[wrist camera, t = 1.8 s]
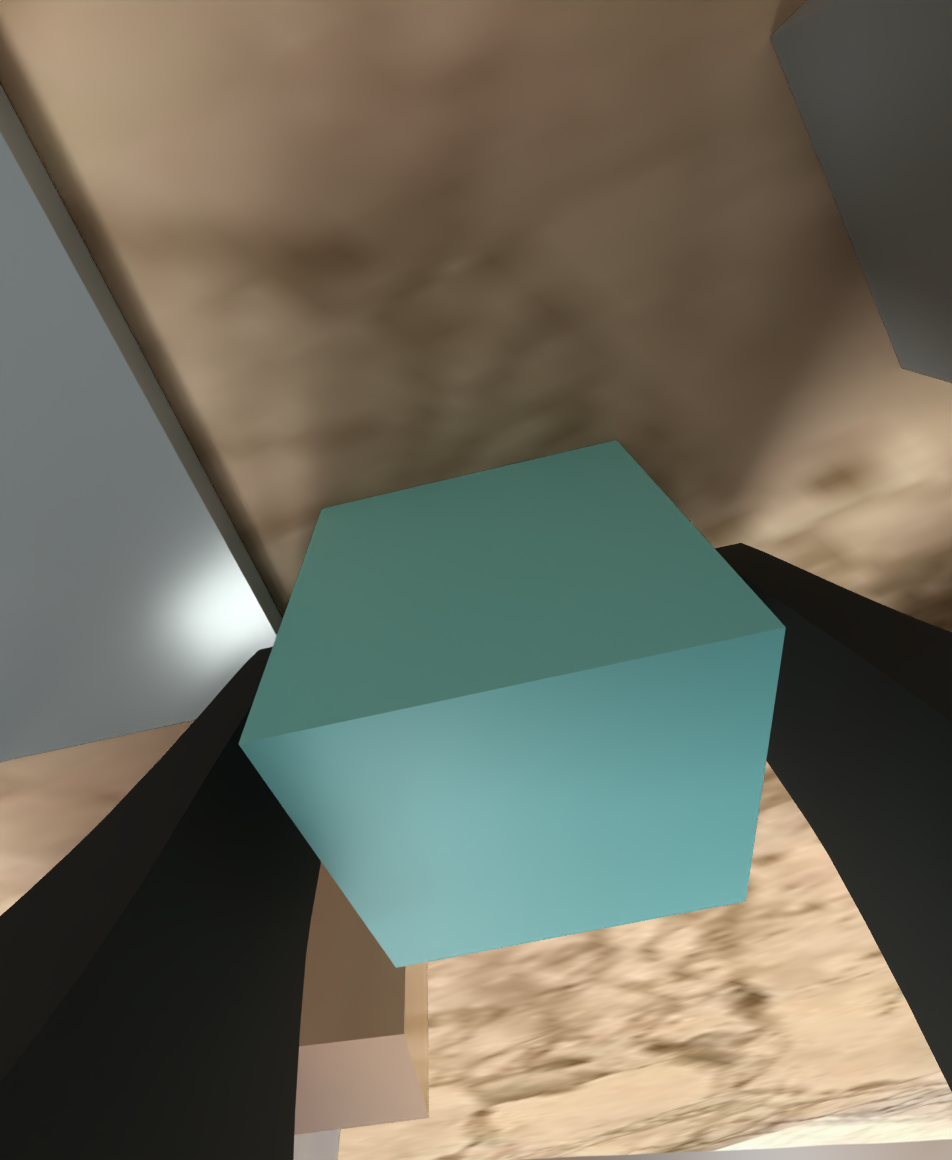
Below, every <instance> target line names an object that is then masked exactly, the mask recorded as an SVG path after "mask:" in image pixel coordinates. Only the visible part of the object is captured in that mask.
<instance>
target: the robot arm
mask: <svg viewBox="0 0 952 1160" xmlns="http://www.w3.org/2000/svg"><path fill="white" fill-rule="evenodd" d="M715 550H716V551H717V552H718V553H719V554H720V555H721V556H722V557H723V558H724V560H725V561H726V562H727V563H728V564H729V565H730V566H731V567H732V568H733V569H734V571H735V572H736V573H737V574H738V575H739V576H740V577H741V578H742V579H743V581H744V582H745V583H746V584H747V585H748V586H749V587H750V588H751V589H752V591H753V592H754V593H755V594H756V595H757V596H758V597H759V598H760V599H761V600H762V602H763V603H764V604H765V605H766V606H767V607H768V608H769V609H770V610H771V612H772V613H773V614H774V615H775V616H776V617H777V618H778V619H779V620H780V621H781V623H782V624H783V625H784V626H785V627H786V629H785V636H784V643H783V650H782V657H781V663H780V670H779V677H778V684H777V691H776V697H775V704H774V711H773V718H772V725H771V731H770V738H769V745H768V752H767V759H766V760H767V762H768V763H769V765H770V766H771V768H772V769H773V771H774V772H775V774H776V775H777V777H778V778H779V780H780V781H781V783H782V784H783V786H784V787H785V789H786V790H787V792H788V793H789V794H790V796H791V797H792V799H793V800H794V802H795V803H796V805H797V806H798V808H799V809H800V811H801V812H802V814H803V815H804V817H805V818H806V820H807V821H808V823H809V824H810V826H811V827H812V829H813V831H814V832H815V834H816V835H817V837H818V839H819V840H820V842H821V843H822V845H823V847H824V848H825V850H826V851H827V853H828V855H829V857H830V858H831V860H832V862H833V864H834V866H835V868H836V869H837V871H838V873H839V875H840V877H841V878H842V880H843V882H844V884H845V886H846V888H847V889H848V891H849V893H850V895H851V897H852V898H853V900H854V902H855V904H856V906H857V908H858V909H859V911H860V913H861V915H862V917H863V919H864V920H865V922H866V924H867V926H868V928H869V930H870V932H871V934H872V935H873V937H874V939H875V941H876V943H877V945H878V947H879V949H880V951H881V953H882V955H883V957H884V958H885V960H886V962H887V964H888V966H889V968H890V970H891V972H892V974H893V976H894V978H895V979H896V981H897V983H898V985H899V987H900V989H901V991H902V993H903V995H904V997H905V999H906V1000H907V1002H908V1004H909V1006H910V1008H911V1010H912V1012H913V1015H914V1017H915V1019H916V1021H917V1023H918V1025H919V1027H920V1029H921V1031H922V1033H923V1035H924V1037H925V1039H926V1041H927V1043H928V1045H929V1047H930V1049H931V1051H932V1053H933V1055H934V1057H935V1059H936V1061H937V1063H938V1065H939V1067H940V1069H941V1071H942V1073H943V1075H944V1077H945V1079H946V1081H947V1083H948V1085H949V1087H950V1089H951V1091H952V633H951V632H949V631H946V630H944V629H941V628H938V627H936V626H933V625H931V624H928V623H925V622H923V621H920V620H918V619H915V618H913V617H911V616H908V615H906V614H903V613H901V612H898V611H896V610H894V609H891V608H889V607H886V606H884V605H882V604H879V603H877V602H875V601H872V600H870V599H868V598H865V597H863V596H861V595H859V594H856V593H854V592H852V591H849V590H847V589H845V588H843V587H840V586H838V585H836V584H834V583H831V582H829V581H827V580H825V579H823V578H820V577H818V576H816V575H814V574H812V573H809V572H807V571H805V570H803V569H800V568H798V567H796V566H794V565H792V564H789V563H787V562H785V561H783V560H781V559H778V558H776V557H774V556H772V555H769V554H767V553H765V552H762V551H760V550H758V549H755V548H753V547H750V546H748V545H745V544H742V543H738V544H734V545H729V546H725V547H720V548H716V549H715ZM272 648H273V647H269V648H265V649H260V650H258V651H257V652H256V653H255V654H254V655H253V656H252V657H251V658H250V659H249V660H248V661H247V662H246V663H245V664H244V665H243V666H242V668H241V669H240V670H239V671H238V672H237V673H236V674H235V675H234V676H233V678H232V679H231V680H230V681H229V682H228V683H227V684H226V685H225V687H224V688H223V689H222V690H221V691H220V692H219V693H218V695H217V696H216V697H215V698H214V699H213V700H212V702H211V703H210V704H209V705H208V706H207V707H206V708H205V710H204V711H203V712H202V713H201V714H200V715H199V716H198V717H197V719H196V720H195V721H194V722H193V723H192V724H191V725H190V727H189V728H188V729H187V730H186V731H185V732H184V733H183V734H182V736H181V737H180V738H179V739H178V740H177V741H176V742H175V744H174V745H173V746H172V747H171V748H170V749H169V750H168V751H167V753H166V754H165V755H164V756H163V757H162V758H161V759H160V760H159V761H158V762H157V763H156V764H155V765H154V766H153V768H152V769H151V770H150V771H149V772H148V773H147V774H146V775H145V776H144V777H143V778H142V779H141V780H140V781H139V782H138V783H137V784H136V786H135V787H134V788H133V789H132V790H131V791H130V792H129V793H128V794H127V795H126V796H125V797H124V798H123V799H122V800H121V801H120V802H119V804H118V805H117V806H116V807H115V808H114V809H113V810H112V811H111V812H110V813H109V814H108V815H107V816H106V817H105V818H104V819H103V820H102V821H101V822H100V823H99V824H98V825H97V826H96V827H95V828H94V829H93V830H92V831H91V832H90V833H89V834H88V835H87V836H86V837H85V838H84V839H83V840H82V841H81V842H80V843H79V844H78V845H77V846H76V847H75V848H74V849H73V850H72V851H71V852H70V853H69V854H68V855H67V856H66V857H64V858H63V859H62V860H61V861H60V862H59V863H58V864H57V865H56V866H55V867H54V868H53V869H52V870H50V871H49V872H48V873H47V874H46V875H45V876H44V877H43V878H42V879H41V880H40V881H39V882H38V883H37V884H35V885H34V886H33V887H32V888H31V889H30V890H29V891H28V892H27V893H26V894H25V895H24V896H22V897H21V898H20V899H19V900H18V901H17V902H16V903H15V904H13V905H12V906H11V907H10V908H9V909H8V910H7V911H6V912H4V913H3V914H2V915H1V916H0V1160H338V1152H339V1141H340V1130H341V1129H338V1130H330V1131H322V1132H314V1133H306V1134H298V1135H294V1131H295V1107H296V1090H297V1073H298V1056H299V1039H300V1024H301V1012H302V1000H303V987H304V975H305V963H306V952H307V945H308V938H309V930H310V923H311V917H312V911H313V905H314V900H315V894H316V888H317V883H318V877H319V871H320V866H321V861H320V859H319V858H318V856H317V855H316V853H315V852H314V851H313V849H312V848H311V846H310V845H309V844H308V842H307V841H306V839H305V838H304V836H303V835H302V834H301V832H300V831H299V829H298V828H297V827H296V825H295V824H294V822H293V821H292V819H291V818H290V817H289V815H288V814H287V812H286V811H285V809H284V808H283V807H282V805H281V804H280V802H279V801H278V800H277V798H276V797H275V795H274V794H273V792H272V791H271V790H270V788H269V787H268V785H267V784H266V783H265V781H264V780H263V778H262V777H261V775H260V774H259V773H258V771H257V770H256V768H255V767H254V765H253V764H252V763H251V761H250V760H249V758H248V757H247V756H246V754H245V753H244V751H243V750H242V748H241V747H240V746H239V741H240V738H241V735H242V732H243V730H244V727H245V724H246V721H247V718H248V716H249V713H250V710H251V707H252V704H253V701H254V699H255V696H256V693H257V690H258V687H259V685H260V682H261V679H262V676H263V673H264V670H265V668H266V665H267V662H268V659H269V656H270V654H271V651H272Z"/></svg>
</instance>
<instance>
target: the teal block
mask: <svg viewBox="0 0 952 1160" xmlns="http://www.w3.org/2000/svg"><path fill="white" fill-rule="evenodd" d="M785 629H786V627H785V626H784V625H783V624H782V623H781V621H780V620H779V619H778V618H777V617H776V616H775V615H774V614H773V613H772V612H771V610H770V609H769V608H768V607H767V606H766V605H765V604H764V603H763V602H762V600H761V599H760V598H759V597H758V596H757V595H756V594H755V593H754V592H753V591H752V589H751V588H750V587H749V586H748V585H747V584H746V583H745V582H744V581H743V579H742V578H741V577H740V576H739V575H738V574H737V573H736V572H735V571H734V569H733V568H732V567H731V566H730V565H729V564H728V563H727V562H726V561H725V560H724V558H723V557H722V556H721V555H720V554H719V553H718V552H717V551H716V550H715V548H714V547H713V546H712V545H711V544H710V543H709V542H708V541H707V540H706V538H705V537H704V536H703V535H702V534H701V533H700V532H699V531H698V530H697V529H696V527H695V526H694V525H693V524H692V523H691V522H690V521H689V520H688V519H687V517H686V516H685V515H684V514H683V513H682V512H681V511H680V510H679V509H678V508H677V506H676V505H675V504H674V503H673V502H672V501H671V500H670V499H669V498H668V496H667V495H666V494H665V493H664V492H663V491H662V490H661V489H660V488H659V486H658V485H657V484H656V483H655V482H654V481H653V480H652V479H651V478H650V477H649V475H648V474H647V473H646V472H645V471H644V470H643V469H642V468H641V467H640V465H639V464H638V463H637V462H636V461H635V460H634V459H633V458H632V457H631V456H630V454H629V453H628V452H627V451H626V450H625V449H624V448H623V447H622V446H621V444H620V443H619V442H618V441H617V440H614V441H610V442H605V443H601V444H597V445H593V446H588V447H584V448H580V449H575V450H571V451H567V452H563V453H558V454H554V455H550V456H545V457H541V458H537V459H532V460H528V461H524V462H520V463H515V464H511V465H507V466H502V467H498V468H494V469H490V470H485V471H481V472H477V473H472V474H468V475H464V476H459V477H455V478H451V479H447V480H442V481H438V482H434V483H429V484H425V485H421V486H417V487H412V488H408V489H404V490H399V491H395V492H391V493H386V494H382V495H378V496H374V497H369V498H365V499H361V500H356V501H352V502H348V503H344V504H339V505H335V506H331V507H326V508H322V510H321V512H320V515H319V518H318V521H317V524H316V527H315V529H314V532H313V535H312V538H311V541H310V544H309V546H308V549H307V552H306V555H305V558H304V560H303V563H302V566H301V569H300V572H299V575H298V577H297V580H296V583H295V586H294V589H293V591H292V594H291V597H290V600H289V603H288V606H287V608H286V611H285V614H284V617H283V620H282V622H281V625H280V628H279V631H278V634H277V637H276V639H275V642H274V645H273V648H272V651H271V654H270V656H269V659H268V662H267V665H266V668H265V670H264V673H263V676H262V679H261V682H260V685H259V687H258V690H257V693H256V696H255V699H254V701H253V704H252V707H251V710H250V713H249V716H248V718H247V721H246V724H245V727H244V730H243V732H242V735H241V738H240V741H239V746H240V747H241V748H242V750H243V751H244V753H245V754H246V756H247V757H248V758H249V760H250V761H251V763H252V764H253V765H254V767H255V768H256V770H257V771H258V773H259V774H260V775H261V777H262V778H263V780H264V781H265V783H266V784H267V785H268V787H269V788H270V790H271V791H272V792H273V794H274V795H275V797H276V798H277V800H278V801H279V802H280V804H281V805H282V807H283V808H284V809H285V811H286V812H287V814H288V815H289V817H290V818H291V819H292V821H293V822H294V824H295V825H296V827H297V828H298V829H299V831H300V832H301V834H302V835H303V836H304V838H305V839H306V841H307V842H308V844H309V845H310V846H311V848H312V849H313V851H314V852H315V853H316V855H317V856H318V858H319V859H320V861H321V862H322V863H323V865H324V866H325V868H326V869H327V871H328V872H329V873H330V875H331V876H332V878H333V879H334V880H335V882H336V883H337V885H338V886H339V888H340V889H341V890H342V892H343V893H344V895H345V896H346V897H347V899H348V900H349V902H350V903H351V905H352V906H353V907H354V909H355V910H356V912H357V913H358V914H359V916H360V917H361V919H362V920H363V922H364V923H365V924H366V926H367V927H368V929H369V930H370V932H371V933H372V934H373V936H374V937H375V939H376V940H377V941H378V943H379V944H380V946H381V947H382V949H383V950H384V951H385V953H386V954H387V956H388V957H389V958H390V960H391V961H392V963H393V964H394V966H395V967H396V968H398V967H403V966H408V965H414V964H419V963H424V962H429V961H435V960H440V959H445V958H450V957H456V956H461V955H466V954H471V953H477V952H482V951H487V950H492V949H498V948H503V947H508V946H513V945H519V944H524V943H529V942H534V941H540V940H545V939H550V938H555V937H561V936H566V935H571V934H576V933H582V932H587V931H592V930H597V929H603V928H608V927H613V926H618V925H624V924H629V923H634V922H639V921H645V920H650V919H655V918H660V917H666V916H671V915H676V914H681V913H687V912H692V911H697V910H702V909H708V908H713V907H718V906H723V905H729V904H734V903H739V902H744V901H746V895H747V888H748V881H749V874H750V868H751V861H752V854H753V847H754V840H755V834H756V827H757V820H758V813H759V806H760V800H761V793H762V786H763V779H764V772H765V765H766V759H767V752H768V745H769V738H770V731H771V725H772V718H773V711H774V704H775V697H776V691H777V684H778V677H779V670H780V663H781V657H782V650H783V643H784V636H785Z"/></svg>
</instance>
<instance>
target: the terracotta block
mask: <svg viewBox="0 0 952 1160" xmlns="http://www.w3.org/2000/svg"><path fill="white" fill-rule="evenodd" d="M424 1118H429V1072H428V962H424V963H419V964H414V965H408V966H403V967H398V968H396V967H395V966H394V964H393V963H392V961H391V960H390V958H389V957H388V956H387V954H386V953H385V951H384V950H383V949H382V947H381V946H380V944H379V943H378V941H377V940H376V939H375V937H374V936H373V934H372V933H371V932H370V930H369V929H368V927H367V926H366V924H365V923H364V922H363V920H362V919H361V917H360V916H359V914H358V913H357V912H356V910H355V909H354V907H353V906H352V905H351V903H350V902H349V900H348V899H347V897H346V896H345V895H344V893H343V892H342V890H341V889H340V888H339V886H338V885H337V883H336V882H335V880H334V879H333V878H332V876H331V875H330V873H329V872H328V871H327V869H326V868H325V866H324V865H323V863H322V862H321V866H320V871H319V877H318V883H317V888H316V894H315V900H314V905H313V911H312V917H311V923H310V930H309V938H308V945H307V952H306V963H305V975H304V987H303V1000H302V1012H301V1024H300V1039H299V1056H298V1073H297V1090H296V1107H295V1131H294V1135H298V1134H306V1133H314V1132H322V1131H330V1130H338V1129H345V1128H353V1127H361V1126H369V1125H377V1124H385V1123H393V1122H401V1121H408V1120H416V1119H424Z"/></svg>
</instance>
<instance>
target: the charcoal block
mask: <svg viewBox="0 0 952 1160" xmlns="http://www.w3.org/2000/svg"><path fill="white" fill-rule="evenodd" d="M770 39H771V42H772V44H773V47H774V49H775V52H776V54H777V57H778V59H779V62H780V64H781V67H782V69H783V72H784V74H785V77H786V79H787V82H788V84H789V87H790V89H791V92H792V95H793V97H794V100H795V102H796V105H797V107H798V110H799V112H800V115H801V117H802V120H803V122H804V125H805V127H806V130H807V132H808V135H809V137H810V140H811V142H812V145H813V147H814V150H815V152H816V155H817V157H818V160H819V162H820V165H821V167H822V170H823V172H824V175H825V177H826V180H827V182H828V185H829V187H830V190H831V192H832V195H833V197H834V200H835V202H836V205H837V207H838V210H839V212H840V215H841V218H842V220H843V223H844V225H845V228H846V230H847V233H848V235H849V238H850V240H851V243H852V245H853V248H854V250H855V253H856V255H857V258H858V260H859V263H860V265H861V268H862V270H863V273H864V275H865V278H866V280H867V283H868V285H869V288H870V290H871V293H872V295H873V298H874V300H875V303H876V305H877V308H878V310H879V313H880V315H881V318H882V320H883V323H884V325H885V328H886V330H887V333H888V336H889V338H890V341H891V343H892V346H893V348H894V351H895V353H896V356H897V358H898V361H899V363H900V366H901V368H902V369H906V370H909V371H913V372H916V373H919V374H923V375H926V376H930V377H933V378H936V379H940V380H943V381H946V382H950V383H952V0H806V1H805V2H804V3H803V4H802V5H801V6H800V7H799V8H798V9H797V10H796V11H795V12H794V13H793V14H792V15H791V16H790V17H789V18H788V19H787V20H786V21H785V22H784V23H783V24H782V25H781V26H780V27H779V28H778V29H777V30H776V31H775V32H774V33H773V34H772V35H771V36H770Z"/></svg>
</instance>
